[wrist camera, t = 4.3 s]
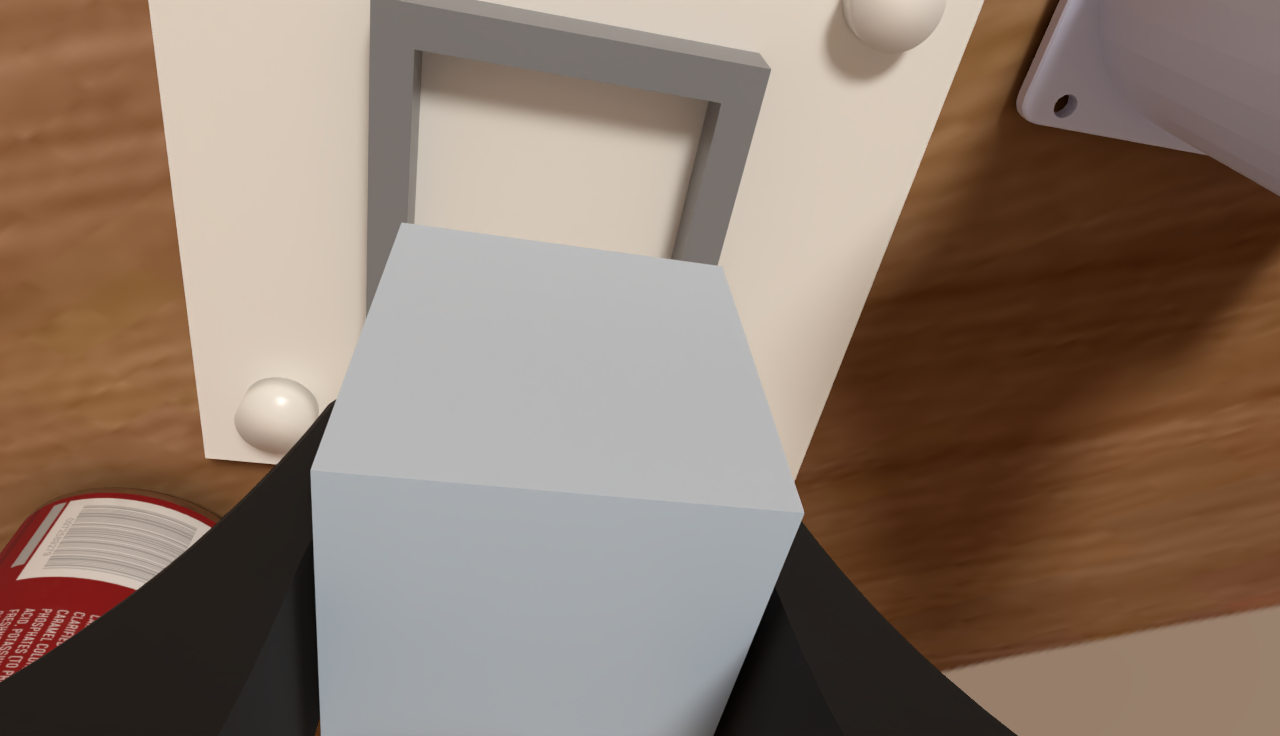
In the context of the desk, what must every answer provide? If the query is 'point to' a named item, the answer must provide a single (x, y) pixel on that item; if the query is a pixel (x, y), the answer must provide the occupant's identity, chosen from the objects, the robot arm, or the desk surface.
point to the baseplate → (534, 166)
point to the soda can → (85, 563)
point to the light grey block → (544, 497)
